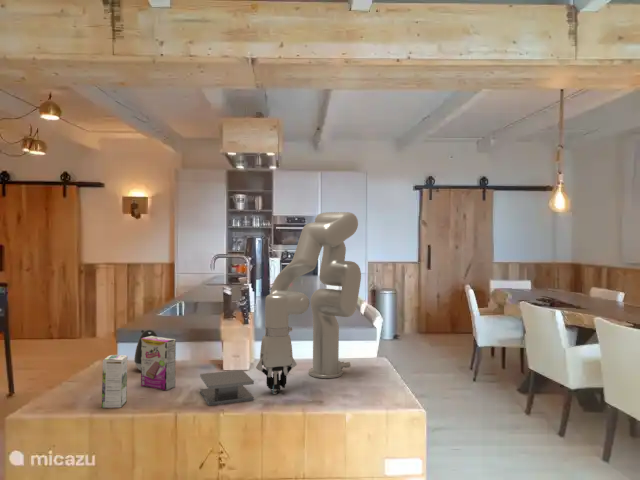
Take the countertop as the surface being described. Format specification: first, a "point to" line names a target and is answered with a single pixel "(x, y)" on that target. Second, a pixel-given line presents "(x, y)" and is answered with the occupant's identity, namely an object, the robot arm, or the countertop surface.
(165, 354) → the candy bar box
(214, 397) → the stand
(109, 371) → the syrup box
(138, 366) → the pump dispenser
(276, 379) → the push button
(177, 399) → the countertop surface
